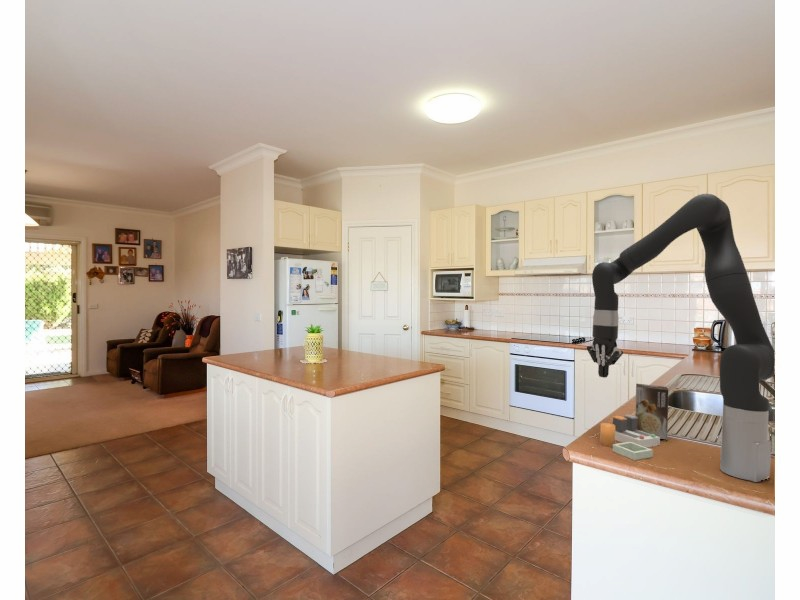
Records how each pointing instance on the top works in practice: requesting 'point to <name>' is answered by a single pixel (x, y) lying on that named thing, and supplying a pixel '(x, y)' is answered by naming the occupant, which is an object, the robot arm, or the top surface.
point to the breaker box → (637, 437)
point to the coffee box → (652, 409)
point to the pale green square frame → (639, 450)
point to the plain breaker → (631, 422)
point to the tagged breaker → (620, 423)
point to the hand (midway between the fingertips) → (603, 376)
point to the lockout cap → (607, 434)
